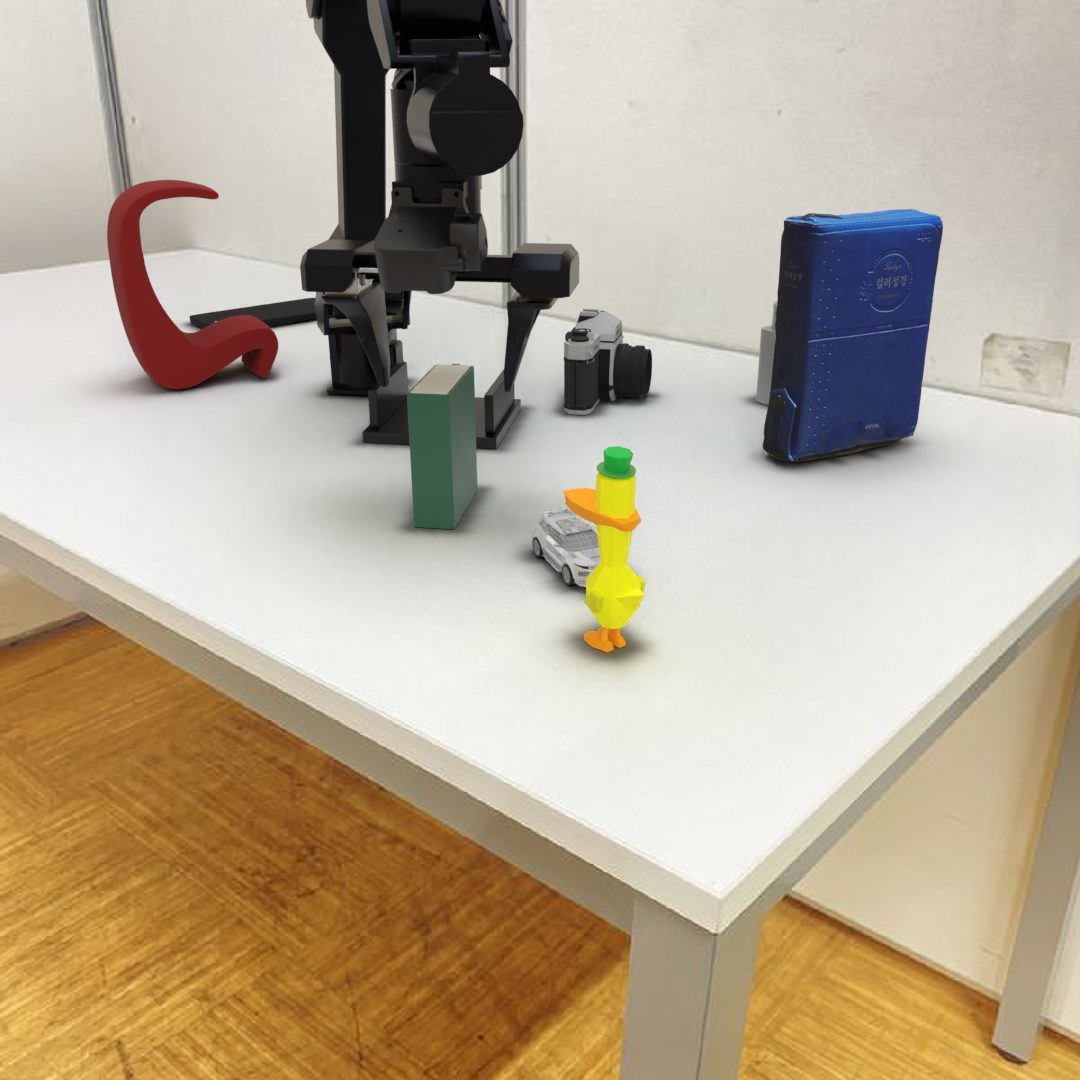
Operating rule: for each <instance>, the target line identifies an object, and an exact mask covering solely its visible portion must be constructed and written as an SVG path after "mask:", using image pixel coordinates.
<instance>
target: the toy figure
mask: <svg viewBox="0 0 1080 1080" xmlns="http://www.w3.org/2000/svg"><path fill="white" fill-rule="evenodd" d="M633 457H634V453H633V452H632V450H631V449H630V448H627V447H623V446H620V445H617V446H607V447H606V448H605V449H604V450H603V461H601V462H599V463H598V464H597V465H596V471H597V474H596V475H595V488H590V487H581V488H579V487H578V488H570V489H567V490H564V491H561V493H562V494H563V495H564V500H565V502H564V503H565V505H566V506H567V508H569V509H570V510H571V511H572V512H573V513H575V514H576V516H577V517H579V518H582V519H584V520H586V521H588V522H589V523H592V524H594V525H595V526H596V534H597V536H598V544H599V553H600V561H601V562H600V563H599V564H598V566H597V567H596V568H595V569H594V571H593V572H592V573H591V574H590V575H589V577H588V578H587V579H586V587H585V599H584V601H583V603H584V604H585V605H586V606H587V607H588V609H589V610H590V612H591V614H592V615H593V616H594V619H596V621H597V622H598V624H599V625H600V626H599V627H598V629H597V630H589V631H586V632H585V633H584V634H583V639H584V641H585V642H586V644H587V645H588V646H590V647H592V648H593V649H597V650H599V651H602V652H605V653H610V652H612V651H614V650H615V649H614V648H615V647H617V648H619V649H620V648H623V647H626V646H627V642H626V639H625V637H624V636H623V635H622V634H621V633H622V628H623V627H625V625H627V624H628V622H629V621H630V620H631V619H632V617H633V616H634V615H635V613H636V612H637V610H638V609H639V608H640V606H641V601H643V599H644V597H645V596H646V594H645V586H646V580H645V579H644V578H642V577H641V576H640V574H638V573H637V574H636V572H634V571H633V569H632V568H631V566H630V565H629V563H628V560H629V556H630V555H629V554H630V548H631V541H632V536H633V531H635V530H636V528H637V527H638V526H639V525H640V523H641V522H642V518H641V516H640V514H639V512H638V510H637V509H636V485H637V483H636V481H637V480H636V479H637V475H636V473H637V469H636V467H635V466H634V465H633V464H631V463H632V460H633Z"/></svg>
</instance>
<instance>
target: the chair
mask: <svg viewBox="0 0 1080 1080" xmlns="http://www.w3.org/2000/svg"><path fill="white" fill-rule="evenodd" d="M219 197H220V195H219V193H218V191H216V190H214V189H213V188H211V187H209V186H208V185H207V186H206V185H204V184H200V183H196V182H191V181H187V180H178V179H158V180H149V181H143V182H140V183H136V184H134V185H132V186H130V187H128V188H127V189H125V190H124V191H123V192H121V193H120V195H118V196H117V198H116V199H115V200H114V202H113V203H112V205H111V207H110V210H109V212H108V218H107V227H106V228H107V229H106V239H107V240H106V242H107V253H108V258H109V267H110V272H111V279H112V285H113V290H114V296H115V300H116V304H117V308H118V313H119V316H120V319H121V322H122V326H123V329H124V330H123V331H124V333H125V335H126V338H127V340H128V341H127V342H128V343H129V345H130V348H131V350H132V352H133V354H134V356H135V358H136V360H137V362H138V363H139V365H140V367H141V369H142V370H143V371H144V373H145V374H146V376H148V377H149V379H150V380H151V381H152V382H154V383H155V384H156V385H158V386H160V387H162V388H165V389H170V390H183V389H189V388H192V387H194V386H197V385H199V384H201V383H202V382H204V381H206V380H208V379H209V378H211V377H212V376H214V375H216V374H217V373H219V372H220V371H222V370H224V369H225V368H226V367H228V366H230V365H231V364H232V363H234V362H235V361H236V360H238V359H239V358H240V357H241V358H240V359H241V360H240V361H241V363H242V364H243V365H244V366H245V367H246V368H247V369H248V370H249V371H250V372H252V374H254V375H256V376H257V377H259V378H263V379H265V378H267V377H268V375H269V373H270V371H271V370H272V367H273V365H274V363H275V361H276V358H277V355H278V351H279V340H278V337H277V335H276V333H275V331H274V330H273V329H272V328H271V326H268V325H267V324H265V323H264V322H262V321H261V320H259V319H258V318H256V317H253V316H250V315H240V316H233V317H229V318H226V319H223V320H220V321H218V322H216V323H213V324H211V325H209V326H207V327H205V328H201V329H199V330H197V331H195V332H185V331H182V330H181V329H180V328H179V327H178V326H177V324H176V323H175V322H174V321H173V320H172V318H171V317H170V316H169V314H168V313H167V311H166V310H165V309H164V306H163V305H162V304H161V302H160V300H159V298H158V297H157V294H156V292H155V290H154V288H153V286H152V282H151V280H150V277H149V274H148V271H147V268H146V267H147V266H146V261H145V256H144V253H143V247H142V246H143V245H142V239H141V226H140V224H141V223H140V222H141V221H140V220H141V216H142V214H143V212H144V211H145V209H147V207H149V206H150V205H152V204H153V203H155V202H158V201H161V200H169V199H177V198H198V199H206V200H217V199H219Z"/></svg>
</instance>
